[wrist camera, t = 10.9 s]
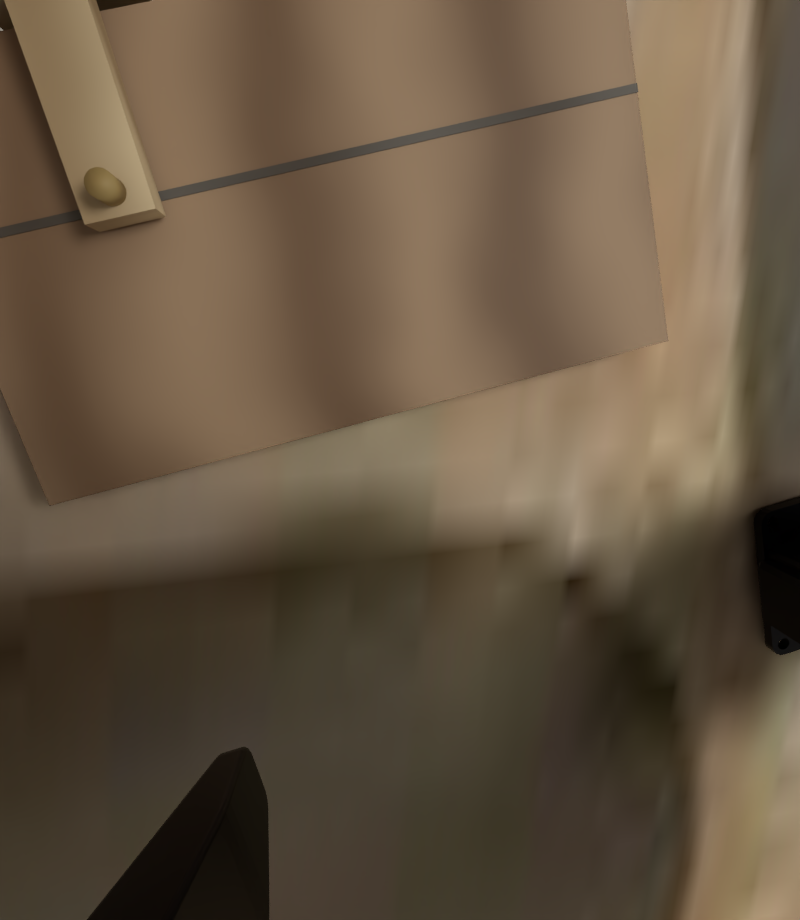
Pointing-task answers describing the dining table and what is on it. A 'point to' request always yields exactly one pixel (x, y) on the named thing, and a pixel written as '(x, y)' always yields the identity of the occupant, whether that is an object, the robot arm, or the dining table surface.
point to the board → (322, 226)
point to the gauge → (86, 107)
